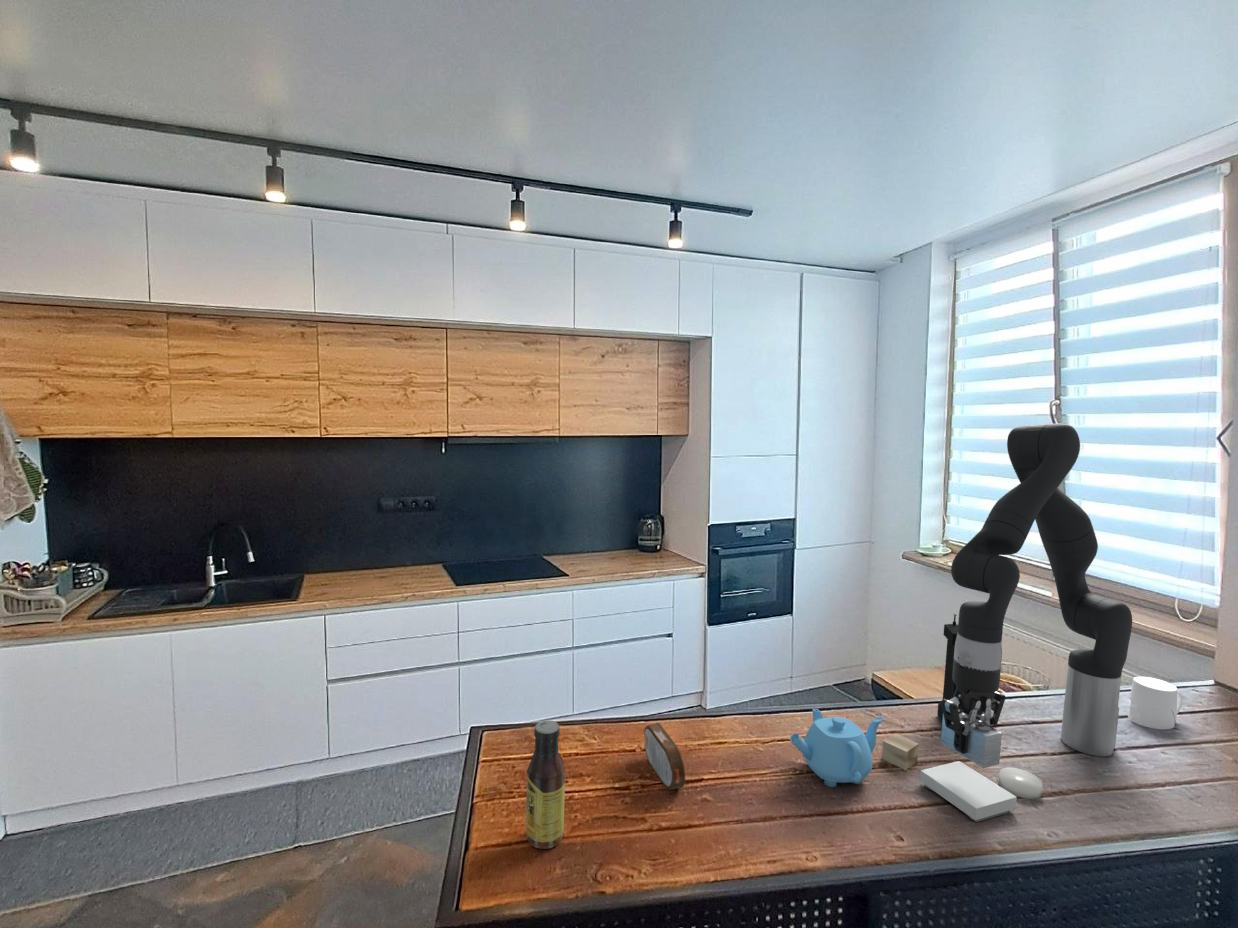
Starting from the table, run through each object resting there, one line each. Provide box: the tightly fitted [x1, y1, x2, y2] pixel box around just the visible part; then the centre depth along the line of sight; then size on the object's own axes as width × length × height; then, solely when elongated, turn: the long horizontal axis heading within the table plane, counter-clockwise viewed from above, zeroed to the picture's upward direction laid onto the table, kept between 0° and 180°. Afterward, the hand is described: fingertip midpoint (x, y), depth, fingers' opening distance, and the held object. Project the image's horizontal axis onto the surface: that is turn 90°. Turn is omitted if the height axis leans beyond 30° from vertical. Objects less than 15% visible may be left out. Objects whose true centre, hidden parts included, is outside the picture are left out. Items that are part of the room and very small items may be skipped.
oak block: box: [881, 733, 920, 771], centre depth 128 cm, size 5×5×4 cm
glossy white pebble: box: [998, 766, 1043, 800], centre depth 120 cm, size 7×7×2 cm
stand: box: [919, 760, 1018, 823], centre depth 116 cm, size 10×12×3 cm
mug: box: [1127, 676, 1184, 730], centre depth 147 cm, size 12×9×8 cm
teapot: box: [789, 708, 885, 788], centre depth 122 cm, size 15×14×11 cm
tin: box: [643, 722, 686, 791], centre depth 120 cm, size 15×3×8 cm, turn 19°
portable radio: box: [937, 613, 958, 723], centre depth 142 cm, size 8×6×25 cm
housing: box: [940, 711, 1003, 769], centre depth 115 cm, size 4×9×7 cm, turn 21°
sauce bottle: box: [525, 719, 566, 850], centre depth 101 cm, size 6×6×20 cm
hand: (969, 748), depth 115 cm, fingers closed on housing, 4 cm apart
